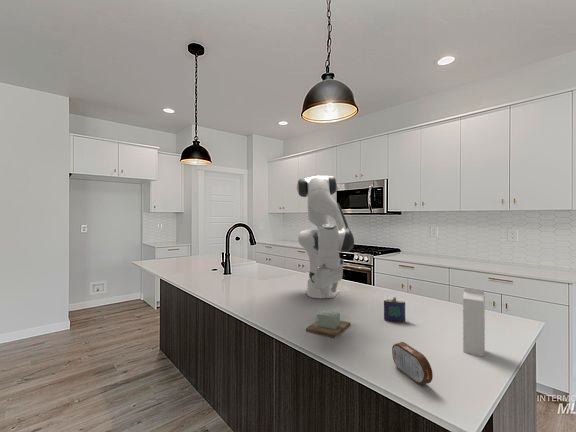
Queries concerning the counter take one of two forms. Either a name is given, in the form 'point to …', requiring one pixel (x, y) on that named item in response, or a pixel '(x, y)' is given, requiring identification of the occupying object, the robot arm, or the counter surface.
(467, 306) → the milk
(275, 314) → the counter surface
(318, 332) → the board
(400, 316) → the flask
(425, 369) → the tin
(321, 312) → the pale green block
